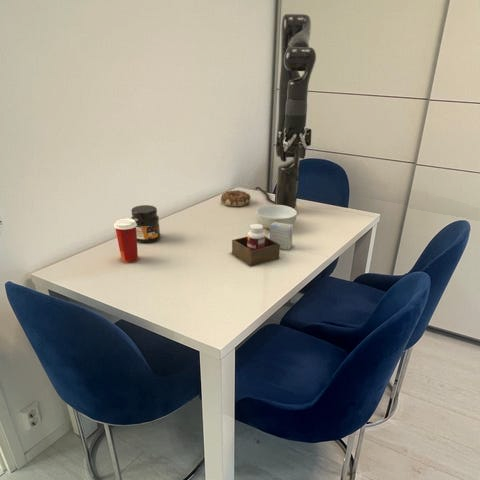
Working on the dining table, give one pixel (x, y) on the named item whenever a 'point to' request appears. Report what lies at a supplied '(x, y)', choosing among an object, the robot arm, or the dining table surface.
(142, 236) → the supplement container
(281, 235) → the medicine box
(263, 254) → the crate
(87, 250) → the dining table surface
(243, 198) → the donut
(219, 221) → the dining table surface
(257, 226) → the pill bottle
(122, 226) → the paper cup
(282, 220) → the cereal bowl
